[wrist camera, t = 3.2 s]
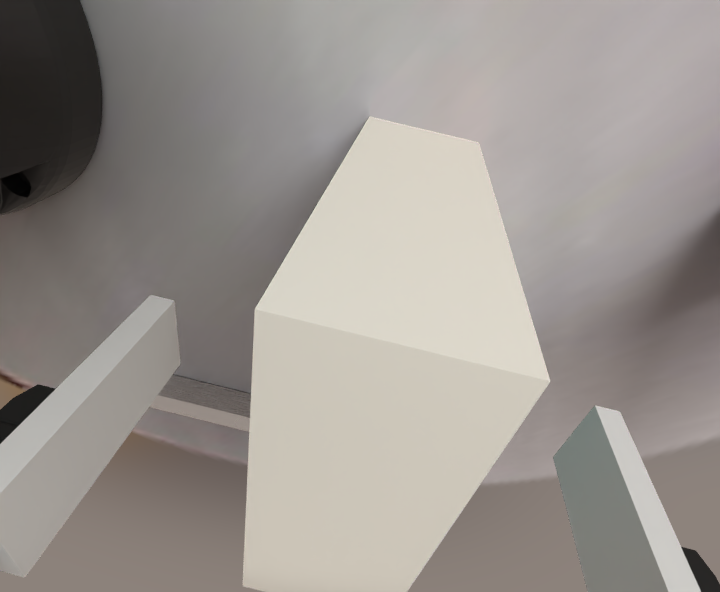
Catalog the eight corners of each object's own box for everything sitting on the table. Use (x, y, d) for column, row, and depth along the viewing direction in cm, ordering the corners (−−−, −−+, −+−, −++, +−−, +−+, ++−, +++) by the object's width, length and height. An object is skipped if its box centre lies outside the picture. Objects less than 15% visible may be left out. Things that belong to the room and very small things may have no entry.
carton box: (330, 321, 23) (242, 586, 13) (369, 116, 17) (254, 308, 6) (411, 341, 23) (390, 623, 13) (482, 143, 17) (560, 383, 6)
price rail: (105, 376, 29) (88, 396, 28) (100, 357, 28) (82, 376, 26) (384, 445, 29) (381, 468, 27) (390, 428, 28) (388, 451, 26)
